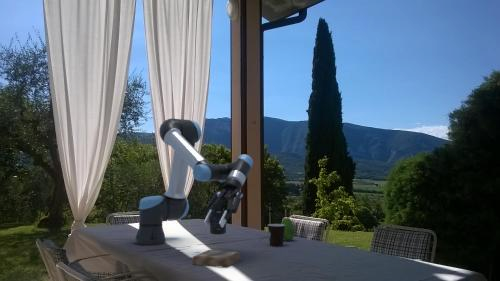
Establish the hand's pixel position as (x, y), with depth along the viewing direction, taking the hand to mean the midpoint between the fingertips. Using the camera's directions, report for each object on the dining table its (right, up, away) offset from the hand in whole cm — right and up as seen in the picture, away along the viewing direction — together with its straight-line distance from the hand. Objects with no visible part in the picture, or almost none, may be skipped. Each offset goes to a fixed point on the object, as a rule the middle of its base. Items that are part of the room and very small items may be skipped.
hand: (213, 224), depth 177 cm
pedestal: (+2, -16, +2) cm, 16 cm away
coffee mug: (+28, -19, +42) cm, 54 cm away
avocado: (+35, -19, +55) cm, 68 cm away
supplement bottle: (+2, -4, +3) cm, 6 cm away
